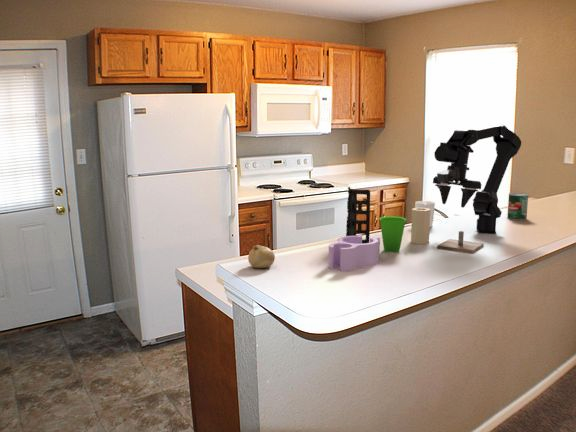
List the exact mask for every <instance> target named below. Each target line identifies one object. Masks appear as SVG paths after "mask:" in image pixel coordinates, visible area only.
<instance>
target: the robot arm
mask: <svg viewBox="0 0 576 432" xmlns="http://www.w3.org/2000/svg"><path fill="white" fill-rule="evenodd" d="M452 133H453V134H452V135H451V136H450V138H449V139H448V140H447V141H446V142H440V143H439V145H438V147H436V149H435V151H434V159H435V160H436V161H437V162H442V163H450V165H448V166H447V168H446V169H445V170H441V171H439V172H437V173H436V175H437V176H436V175H435V176H434V177H433V180H432V183H433V184H434V186H435V187H437V189H438V190H439V192H440V196H441V197H440V198H441V203H442V204H443V205H446V204H447V201H448V197H449V195H450V191H451V187H452V185H453V186H454V185H455V186H462V187H461V188H460V190H461V192H462V194H461V202H460V203H461V204H460V205H461V206H460V208H465V206H467V204H468V203H469V201H470V199H471V198H472V197H473V195H475V196H474V197H473V199H472V201H473V202H472V207H473V213H474V216H478V218H477V219H476V231H477V232H478V233H482V234H484V233H487V234H496V233H497V231H496V228H497V227H496V226H497V219H499V218H501V216H502V212H503V211H502V210H501V209H500V208H499V206H498V203H499V198H498V191H499V188H500V186H501V184H502V181H503V178H504V176H505V174H506V171H507V168H508V165H509V164H510V161H511V159H513V157H515V156H516V155H517V154H518V153H519V151H520V149H521V146H522V140H521V139H520V137H519V135H517V134H516V133H515V132H513V131H512V130H510V129H509V128H508V127H507V126H506V125H504V124H493V125H490V126H486V127H480V128H475V129H456V130H454V131H453V132H452ZM489 138H492V139H493V142H494V143H495V144H496V145H495V151H496V157H495V160H494V163H493V166H491V170H490V173H489V175H488V178H487V180H486V182H485V185H484V188H483V189H482V182H481V181H479V180H472V179H471V180H470V179H468V178H466V176H467V171H470V167H468V164H469V163H468V162H469V157H470V156H469V155H470V153H472V154H473V153H474V150H473V148H472V147H471V146H472V145H474V144H476V143H477V142H479V141H480V140H483V139H484V140H485V139H489ZM481 189H482V190H481ZM479 190H481V191H479Z"/></svg>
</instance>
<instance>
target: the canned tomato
mask: <svg viewBox="0 0 576 432" xmlns="http://www.w3.org/2000/svg"><path fill="white" fill-rule="evenodd" d="M528 203H529V194H528V193H524V192H510V193H508V202H507V204H508V207H507V219H508V220H512V221H526V220H528V219H527V218H528V215H527V214H528Z"/></svg>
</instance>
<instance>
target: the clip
mask: <svg viewBox="0 0 576 432" xmlns="http://www.w3.org/2000/svg"><path fill="white" fill-rule="evenodd" d="M362 240H363V234H356V236H346V235H345V236H342V237H339V238H338V239H337V242H332V243H329V244H328V269H329V270H334V269H335V267H336V266H339V268H340V269H339V270H340V272H353V271H354V270H356V269H358V268H361V267H371V266H374V265H376V264H378V262H379V261H378V260H379V259H380V250H381V249H380V247H381V237H379V236H376V237H374V236H373V237H369V243H365V244H362Z"/></svg>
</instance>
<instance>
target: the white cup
mask: <svg viewBox="0 0 576 432" xmlns="http://www.w3.org/2000/svg"><path fill="white" fill-rule="evenodd" d="M435 204H436V202H434V201H431V200H418V201H417V200H416V201H415V203H414V208H428V209H430V228H433V224H434V214H435V206H436V205H435Z"/></svg>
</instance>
